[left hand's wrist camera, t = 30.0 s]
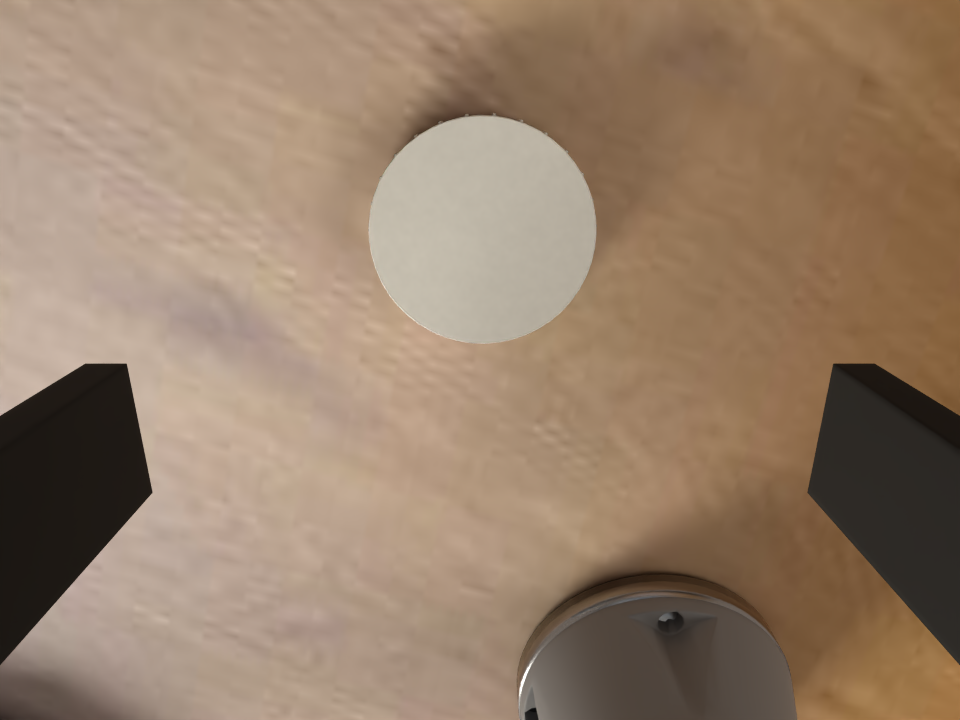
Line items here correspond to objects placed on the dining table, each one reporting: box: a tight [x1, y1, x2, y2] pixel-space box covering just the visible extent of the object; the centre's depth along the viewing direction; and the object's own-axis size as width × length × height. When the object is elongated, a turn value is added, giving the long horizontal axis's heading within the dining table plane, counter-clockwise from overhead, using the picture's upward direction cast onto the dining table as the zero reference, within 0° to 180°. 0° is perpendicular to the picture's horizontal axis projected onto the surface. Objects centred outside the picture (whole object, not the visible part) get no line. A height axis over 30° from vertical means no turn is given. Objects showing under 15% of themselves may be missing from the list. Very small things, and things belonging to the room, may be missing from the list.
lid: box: [368, 113, 597, 344], centre depth 28 cm, size 10×10×2 cm
